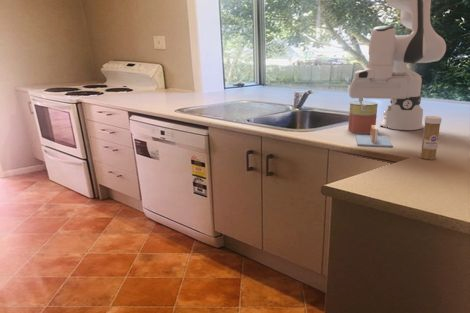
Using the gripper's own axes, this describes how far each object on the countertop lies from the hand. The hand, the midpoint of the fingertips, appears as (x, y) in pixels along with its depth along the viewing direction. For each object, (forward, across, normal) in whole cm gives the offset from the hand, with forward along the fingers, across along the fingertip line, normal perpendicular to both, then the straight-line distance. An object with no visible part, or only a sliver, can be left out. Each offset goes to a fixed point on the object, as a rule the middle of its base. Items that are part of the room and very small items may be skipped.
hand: (376, 110), depth 139 cm
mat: (+12, 0, +1) cm, 12 cm away
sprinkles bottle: (+12, -15, +21) cm, 28 cm away
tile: (+11, 0, +1) cm, 11 cm away
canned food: (+13, +3, -19) cm, 23 cm away
